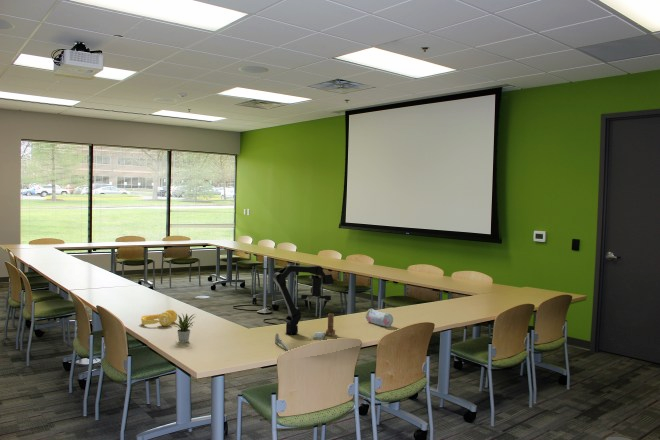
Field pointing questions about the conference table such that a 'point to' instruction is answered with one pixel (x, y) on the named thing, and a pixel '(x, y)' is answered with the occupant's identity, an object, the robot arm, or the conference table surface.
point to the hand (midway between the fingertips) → (316, 310)
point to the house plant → (184, 328)
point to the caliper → (280, 342)
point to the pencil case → (379, 318)
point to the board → (319, 335)
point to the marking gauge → (330, 325)
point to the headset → (160, 318)
